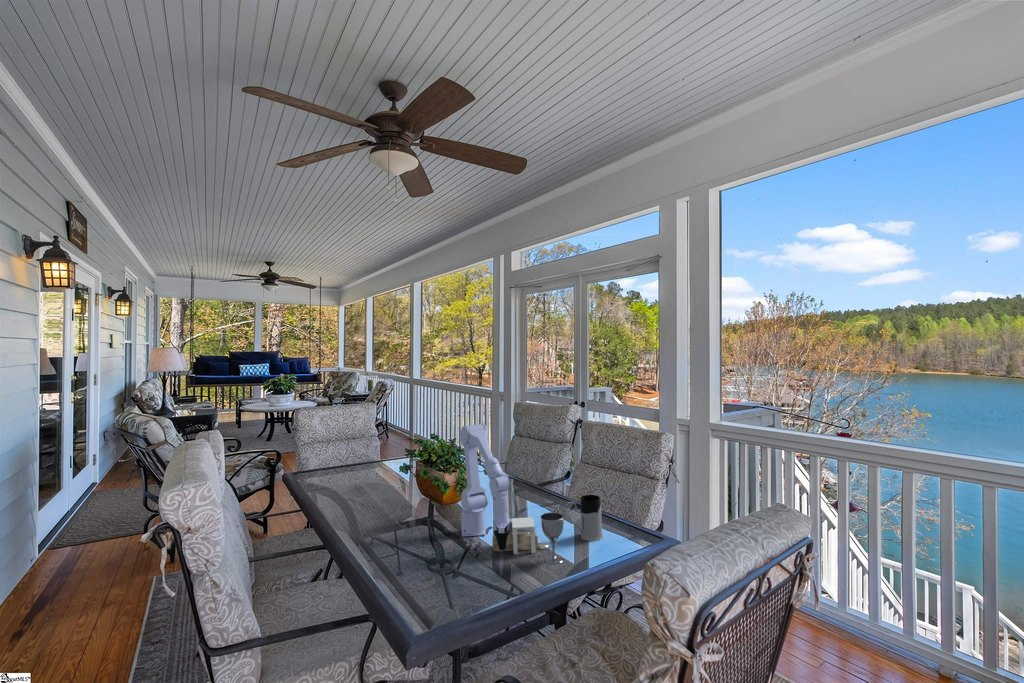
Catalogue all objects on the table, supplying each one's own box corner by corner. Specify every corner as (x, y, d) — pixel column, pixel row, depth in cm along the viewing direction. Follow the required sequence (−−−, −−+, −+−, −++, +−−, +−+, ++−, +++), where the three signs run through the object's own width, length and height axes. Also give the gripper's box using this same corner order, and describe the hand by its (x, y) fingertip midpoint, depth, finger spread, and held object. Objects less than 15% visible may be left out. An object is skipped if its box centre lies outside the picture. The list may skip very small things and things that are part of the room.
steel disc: (544, 551, 170) (544, 548, 170) (535, 548, 173) (535, 545, 173) (552, 547, 173) (552, 544, 173) (543, 544, 176) (543, 541, 176)
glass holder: (605, 540, 176) (603, 500, 177) (568, 542, 176) (566, 502, 177) (601, 531, 185) (599, 493, 185) (565, 533, 185) (563, 495, 185)
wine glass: (541, 555, 166) (539, 513, 167) (563, 553, 167) (561, 511, 167) (544, 565, 158) (542, 521, 159) (567, 563, 159) (565, 519, 159)
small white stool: (513, 555, 167) (512, 528, 167) (513, 543, 178) (512, 518, 178) (535, 554, 167) (534, 527, 168) (534, 542, 178) (533, 517, 178)
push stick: (493, 551, 171) (492, 538, 171) (493, 549, 174) (492, 535, 174) (538, 549, 172) (537, 535, 172) (537, 546, 174) (537, 533, 174)
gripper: (511, 514, 166) (513, 553, 166) (511, 501, 180) (512, 536, 180) (492, 515, 166) (493, 554, 165) (493, 502, 180) (494, 537, 180)
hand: (502, 545), depth 173 cm, fingers open, 7 cm apart
